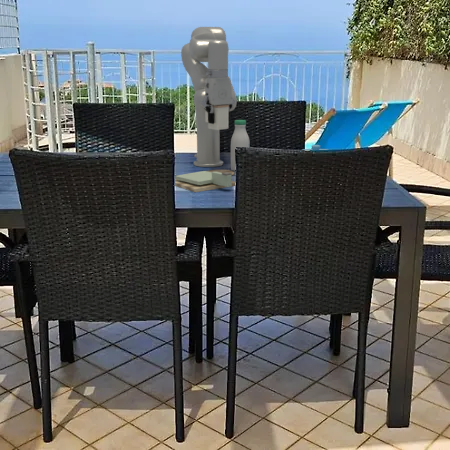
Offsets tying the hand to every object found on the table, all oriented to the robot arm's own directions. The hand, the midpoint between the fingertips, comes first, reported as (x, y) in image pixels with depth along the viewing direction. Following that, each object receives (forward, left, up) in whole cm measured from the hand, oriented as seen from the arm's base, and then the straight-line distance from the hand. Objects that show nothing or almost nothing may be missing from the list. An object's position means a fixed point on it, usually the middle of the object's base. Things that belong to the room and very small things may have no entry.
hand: (218, 122), depth 236 cm
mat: (0, 0, -20) cm, 20 cm away
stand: (+12, -16, -20) cm, 28 cm away
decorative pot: (+33, +20, -21) cm, 44 cm away
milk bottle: (-2, +12, -20) cm, 24 cm away
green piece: (+16, -16, -19) cm, 29 cm away
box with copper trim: (-1, 0, -2) cm, 3 cm away
